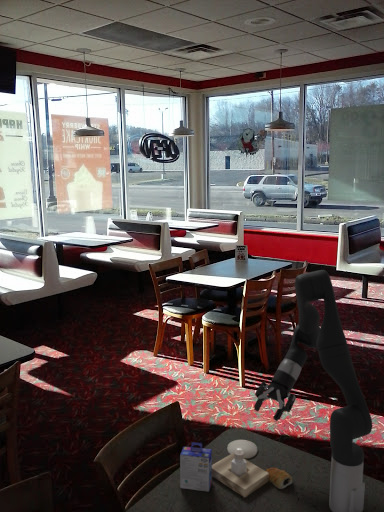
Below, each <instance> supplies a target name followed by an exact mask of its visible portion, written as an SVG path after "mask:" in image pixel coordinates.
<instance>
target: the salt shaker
mask: <svg viewBox="0 0 384 512" xmlns="http://www.w3.org/2000/svg"><path fill="white" fill-rule="evenodd" d="M245 460H246V459H245ZM245 460H244V452H243V451H242V450H236V451H235V452H234V459H233V460H232V461H231V472H232V473H234V474H235V475H237V476H239V477H240V476H242V475H243V474H245V473H247V463H246V461H245Z"/></svg>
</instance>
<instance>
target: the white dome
mask: <svg viewBox="0 0 384 512" xmlns="http://www.w3.org/2000/svg"><path fill="white" fill-rule="evenodd" d="M226 447H227V452H228V455H230V454H232V453H234V452H235V451H236V450H242V451H243V452H244V459H245V460H248V459H252V458H253V457H256V455H257V453H258V447H257V445H256V444H255V443H254V442H252V441H250V440H246V439H236V440H235V439H234V440H233V441H231V442H229V443H228V444H227V446H226Z"/></svg>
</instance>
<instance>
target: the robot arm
mask: <svg viewBox="0 0 384 512" xmlns="http://www.w3.org/2000/svg"><path fill="white" fill-rule="evenodd" d="M294 288H295V289H294V291H295V297H296V304H297V308H298V309H297V310H298V324H297V325H296V326H295V327H294V328H293V332H292V339H291V343H290V345H289V349H288V351H287V352H286V355H284V358H283V360H282V361H281V362H280V364H279V365H278V368H277V370H276V371H275V372H274V374H273V376H272V378H271V382H270V383H269V384H268V383H267V382H266V381H264V380H263V381H262V382H261V383H260V385H259V386H258V388H257V390H256V391H255V392H254V396H255V397H256V398H257V399H256V402H255V404H254V406H253V409H254V411H256V412H259V411H260V409H261V407H262V406H263V403H264V402H265V401H266V400H270V399H271V400H272V401H275V402H277V403H278V407H279V408H277V410H276V412H275V413H274V415H273V420H274V421H275V422H278V421H280V420H281V418H282V416H283V414H284V413H286V412H287V413H290V412H291V411H292V408H293V406H294V405H295V402H296V399H297V397H296V396H295V394H293V393H290V392H291V391H292V389H293V388H294V385H295V383H296V382H297V380H298V378H299V376H300V374H301V371H302V368H303V367H304V364H305V363H306V361H307V359H308V353H307V352H306V351H305V350H304V349H303V348H301V346H300V345H299V344H301V345H303V346H306V347H308V348H311V349H317V353H318V357H319V361H320V364H321V366H322V368H323V370H324V371H325V372H326V373H327V374H328V375H329V376H330V378H331V379H333V381H335V383H336V384H337V386H339V388H340V390H341V392H342V393H343V396H344V399H345V402H346V406H343V407H339V408H337V409H334V410H333V411H332V412H331V414H330V418H329V444H330V448H331V462H330V463H331V465H330V478H329V481H330V482H329V497H328V499H329V500H328V506H329V510H330V511H331V512H363V511H364V503H365V486H366V485H365V484H366V483H365V482H364V481H363V476H364V459H365V453H364V450H363V448H362V447H361V446H360V445H359V444H357V443H355V442H353V440H355V439H359V438H363V437H365V436H368V435H370V434H371V432H372V430H373V419H372V415H371V413H370V410H369V407H368V404H367V402H366V400H365V399H366V398H365V397H364V394H363V391H362V388H361V387H360V383H359V380H358V376H357V374H356V370H355V367H354V364H353V360H352V355H351V352H350V349H349V344H348V341H347V338H346V335H345V332H344V328H343V325H342V322H341V319H340V318H341V317H340V314H339V310H338V306H337V300H336V296H335V291H334V287H333V283H332V279H331V276H330V274H329V273H328V271H327V270H325V269H319V270H315V271H311V272H310V271H309V272H305V273H302V274H298V275H297V276H296V277H295V279H294ZM320 300H323V303H324V304H323V305H324V313H323V318H322V321H321V325H320V313H319V310H318V309H317V308H316V307H315V306H314V304H312V303H311V302H316V301H320ZM285 399H287V401H286V400H285Z"/></svg>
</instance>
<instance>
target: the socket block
mask: <svg viewBox="0 0 384 512" xmlns="http://www.w3.org/2000/svg"><path fill="white" fill-rule="evenodd" d="M233 459H234V453H232V454H228V455H227V456H225V457H224V458H221V459H220V460H219V461H217V462H215V463H212V478H214V479H215V480H217V481H218V482H221V483H222V484H223V485H225V486H226V487H228V488H230V489H231V490H233V491H234V492H236V493H237V494H238V495H240V496H242V497H243V498H246V497H248V496H249V495H251V494H252V493H253V492H255V491H256V490H258V489H260V488H261V487H263V486H264V485H265V484H267V483H268V482H270V481H269V473H268V472H266V470H264V469H263V468H261V467H259V466H257V465H255V464H254V463H253V462H251V461H249V460H248V459H244V460H245V461H246V463H247V473H245V474H243V475H242V476H240V477H239V476H237V475H235V474H234V473H232V472H231V461H232V460H233Z"/></svg>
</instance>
